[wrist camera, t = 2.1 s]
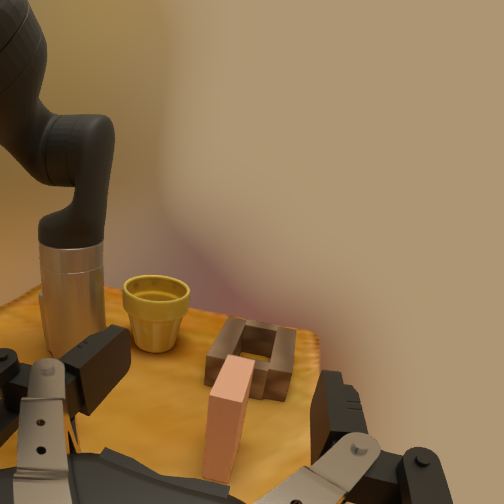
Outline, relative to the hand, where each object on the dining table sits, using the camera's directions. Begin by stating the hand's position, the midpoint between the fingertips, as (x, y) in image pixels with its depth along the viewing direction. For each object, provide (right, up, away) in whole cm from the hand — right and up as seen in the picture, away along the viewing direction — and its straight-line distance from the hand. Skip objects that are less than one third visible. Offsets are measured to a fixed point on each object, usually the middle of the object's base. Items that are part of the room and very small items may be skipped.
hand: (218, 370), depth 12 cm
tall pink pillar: (-2, -17, +15) cm, 23 cm away
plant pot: (-14, -10, +36) cm, 40 cm away
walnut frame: (+1, -13, +32) cm, 35 cm away
